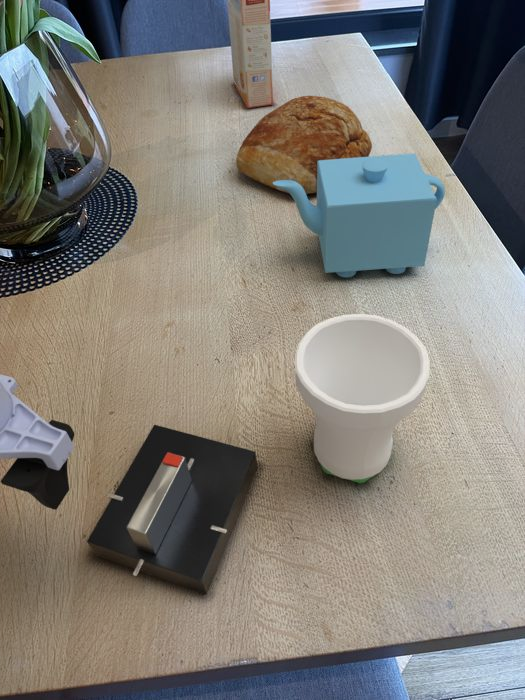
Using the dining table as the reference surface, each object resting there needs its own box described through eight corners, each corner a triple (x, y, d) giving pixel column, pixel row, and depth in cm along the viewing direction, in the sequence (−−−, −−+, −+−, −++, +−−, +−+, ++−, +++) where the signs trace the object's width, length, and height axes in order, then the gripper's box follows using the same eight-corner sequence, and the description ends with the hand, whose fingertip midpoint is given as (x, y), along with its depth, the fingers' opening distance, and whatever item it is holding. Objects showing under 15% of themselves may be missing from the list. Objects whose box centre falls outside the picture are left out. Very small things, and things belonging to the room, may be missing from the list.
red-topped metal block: (155, 555, 47) (144, 532, 44) (136, 548, 48) (125, 526, 45) (192, 480, 52) (185, 455, 49) (174, 475, 52) (166, 450, 49)
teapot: (423, 226, 82) (439, 137, 72) (443, 274, 75) (463, 181, 65) (274, 237, 83) (270, 149, 73) (278, 286, 75) (274, 195, 65)
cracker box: (275, 105, 114) (270, -13, 99) (246, 110, 114) (237, -9, 98) (259, 80, 124) (253, -32, 109) (233, 84, 123) (223, -28, 108)
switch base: (204, 611, 47) (198, 597, 45) (84, 568, 50) (73, 553, 48) (261, 468, 56) (259, 451, 54) (156, 440, 59) (150, 422, 57)
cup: (387, 401, 61) (404, 303, 50) (424, 491, 53) (453, 398, 43) (286, 418, 60) (282, 322, 50) (309, 512, 52) (309, 423, 42)
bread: (374, 161, 96) (380, 102, 89) (318, 211, 87) (319, 150, 79) (277, 134, 105) (275, 79, 98) (216, 177, 96) (209, 120, 88)
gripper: (71, 355, 36) (121, 467, 46) (-101, 313, 40) (-21, 425, 50) (3, 442, 32) (75, 546, 41) (-184, 386, 36) (-77, 493, 45)
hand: (19, 485), depth 45 cm, fingers open, 7 cm apart
